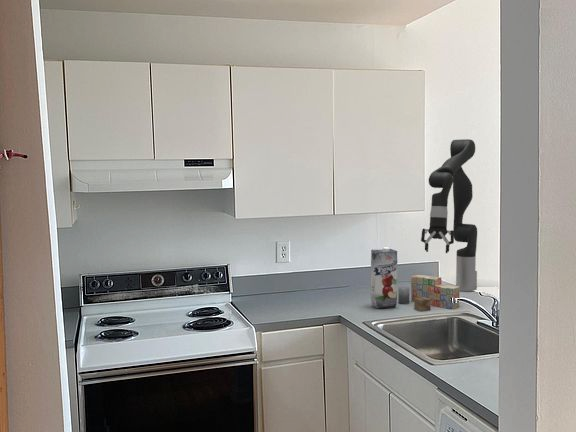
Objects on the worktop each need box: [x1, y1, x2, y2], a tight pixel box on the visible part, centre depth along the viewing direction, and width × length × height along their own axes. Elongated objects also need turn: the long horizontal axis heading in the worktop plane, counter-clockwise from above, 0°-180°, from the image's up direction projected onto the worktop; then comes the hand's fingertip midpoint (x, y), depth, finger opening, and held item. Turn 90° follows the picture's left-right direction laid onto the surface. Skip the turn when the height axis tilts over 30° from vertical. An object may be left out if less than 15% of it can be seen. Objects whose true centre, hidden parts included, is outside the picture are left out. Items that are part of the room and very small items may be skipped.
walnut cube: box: [413, 297, 432, 313], centre depth 263 cm, size 5×5×5 cm
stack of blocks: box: [410, 274, 461, 310], centre depth 272 cm, size 21×6×12 cm, turn 45°
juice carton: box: [370, 246, 398, 310], centre depth 268 cm, size 9×10×27 cm
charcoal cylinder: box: [397, 286, 410, 305], centre depth 275 cm, size 5×5×7 cm
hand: (436, 252), depth 271 cm, fingers open, 8 cm apart
